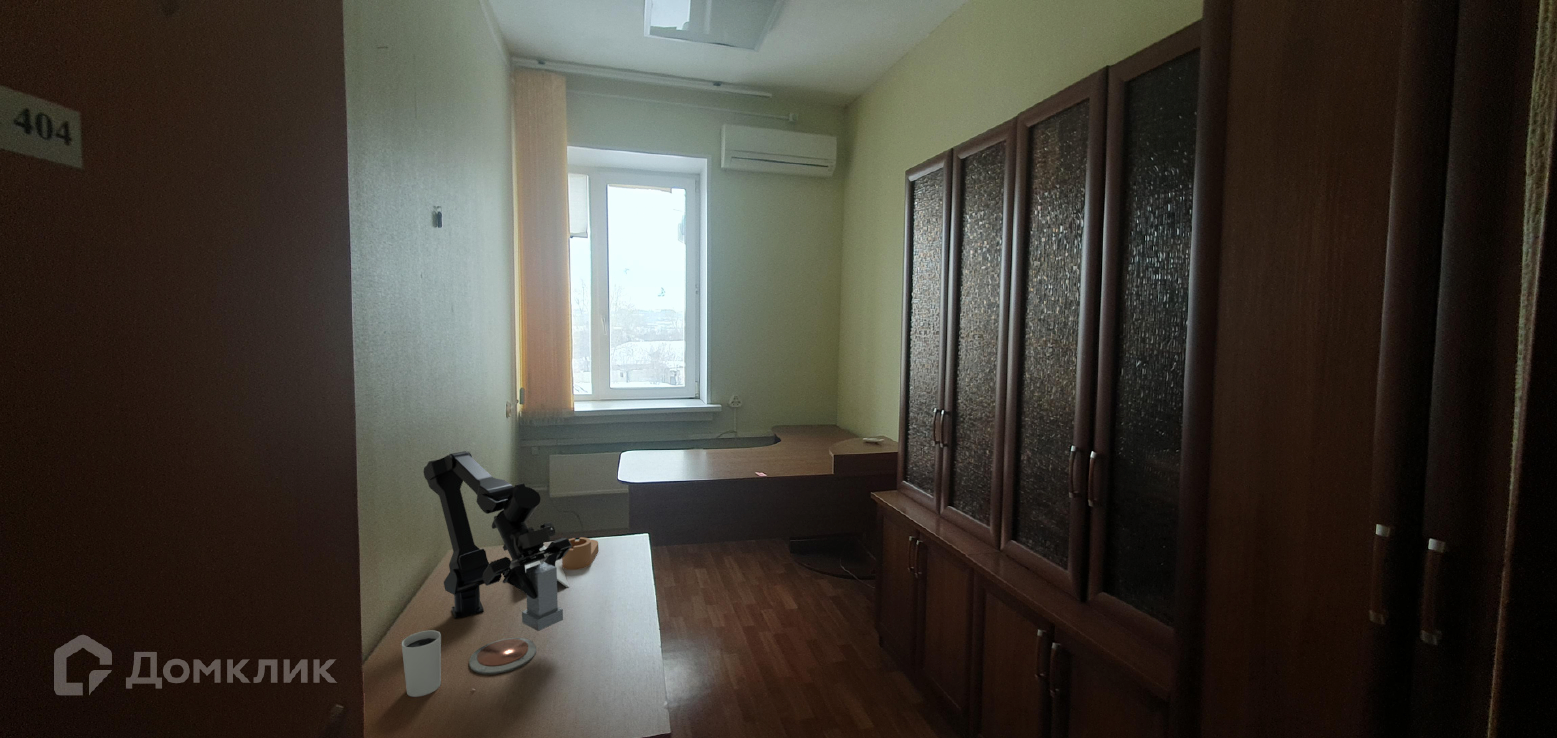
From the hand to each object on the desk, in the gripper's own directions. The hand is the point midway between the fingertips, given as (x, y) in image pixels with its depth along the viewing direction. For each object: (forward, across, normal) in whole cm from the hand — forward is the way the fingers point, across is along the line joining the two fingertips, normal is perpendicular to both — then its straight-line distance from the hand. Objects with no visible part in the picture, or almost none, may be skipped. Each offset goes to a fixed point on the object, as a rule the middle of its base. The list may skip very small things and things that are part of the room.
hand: (545, 593), depth 130 cm
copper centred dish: (+5, -6, +14) cm, 16 cm away
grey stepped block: (+4, 0, +6) cm, 7 cm away
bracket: (-18, +38, +38) cm, 57 cm away
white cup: (+4, -22, +16) cm, 27 cm away
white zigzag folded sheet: (-17, +23, +38) cm, 47 cm away
